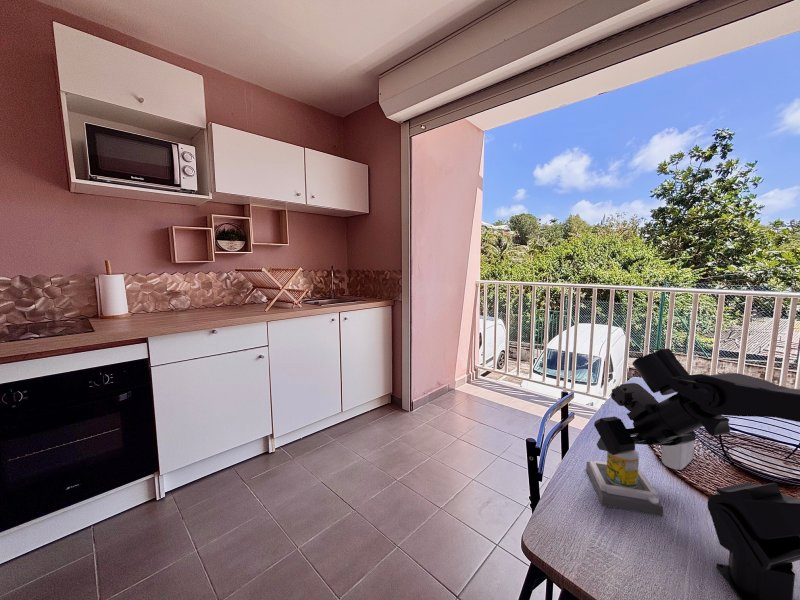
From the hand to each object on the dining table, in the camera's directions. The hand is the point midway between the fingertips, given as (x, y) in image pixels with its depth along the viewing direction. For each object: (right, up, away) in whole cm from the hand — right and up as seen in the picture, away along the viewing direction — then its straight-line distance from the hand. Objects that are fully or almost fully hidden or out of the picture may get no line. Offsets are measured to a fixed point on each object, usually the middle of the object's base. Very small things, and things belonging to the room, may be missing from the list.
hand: (616, 443), depth 67 cm
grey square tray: (0, -10, -1) cm, 10 cm away
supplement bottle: (0, -8, -1) cm, 8 cm away
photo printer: (+21, -9, +10) cm, 25 cm away
